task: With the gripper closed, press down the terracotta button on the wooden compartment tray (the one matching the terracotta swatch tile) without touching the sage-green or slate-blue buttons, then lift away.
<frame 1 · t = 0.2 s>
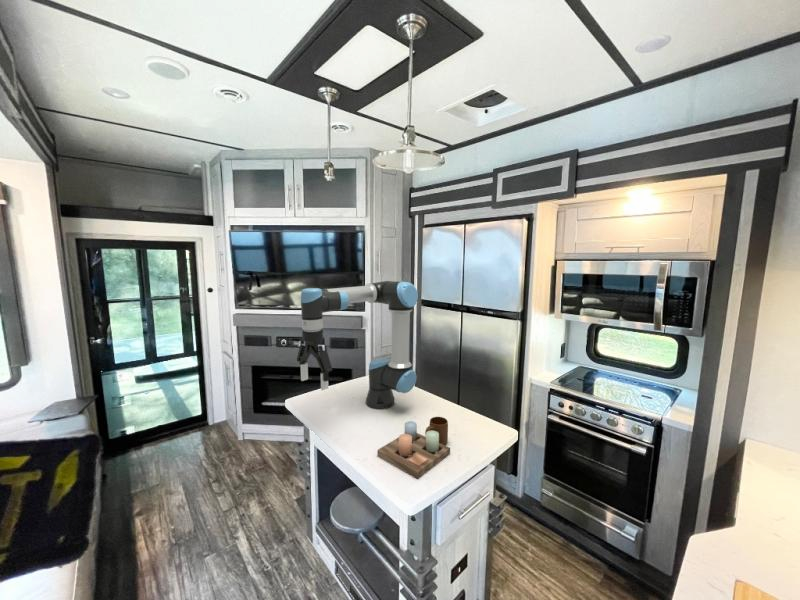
hand: (314, 384, 125), 28 cm above the countertop, fingers open, 13 cm apart
mug: (435, 444, 135), on the countertop
sage button: (432, 441, 127), point 5 cm above the countertop, slide at 0.0 cm
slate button: (410, 431, 134), point 6 cm above the countertop, slide at 0.0 cm
wooden compartment tray: (413, 454, 127), on the countertop
terracotta button: (405, 444, 124), point 6 cm above the countertop, slide at 0.0 cm
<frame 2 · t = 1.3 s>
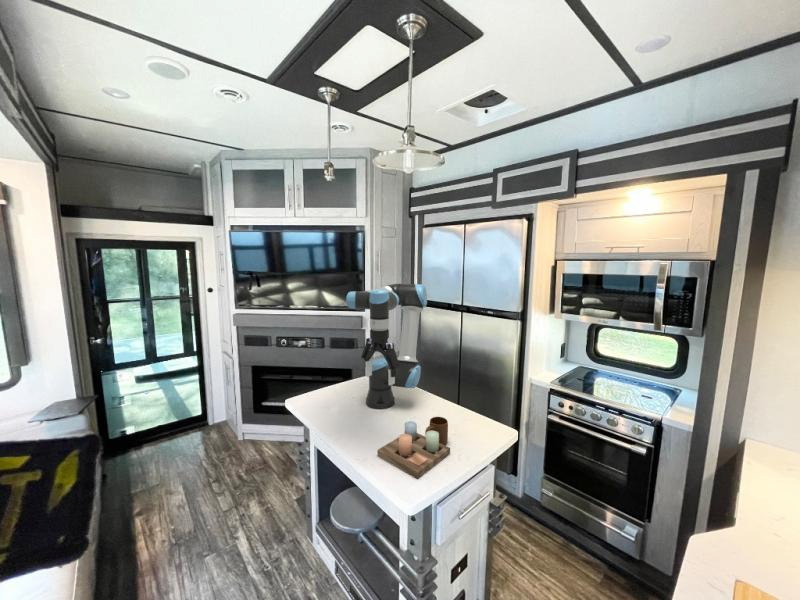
hand: (379, 380, 133), 27 cm above the countertop, fingers open, 13 cm apart
nothing on the countertop moved.
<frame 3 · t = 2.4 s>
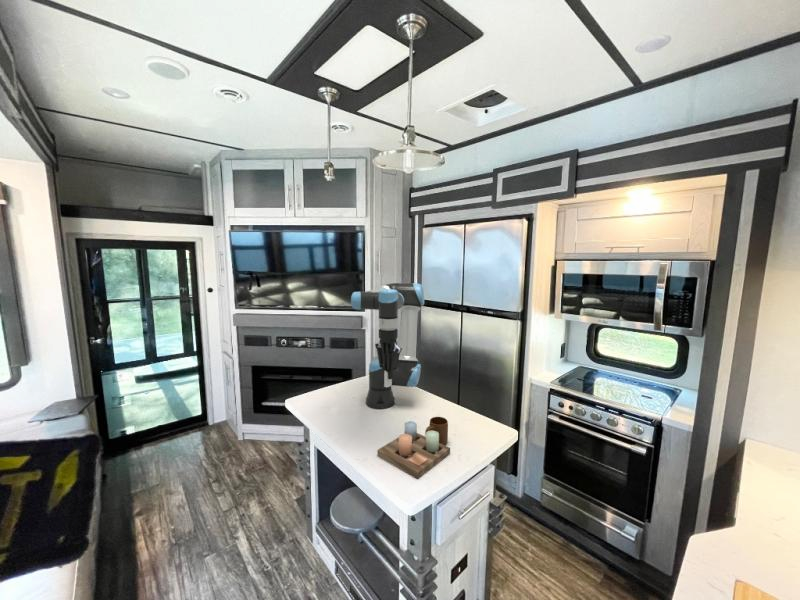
hand: (388, 386, 132), 25 cm above the countertop, fingers closed
nothing on the countertop moved.
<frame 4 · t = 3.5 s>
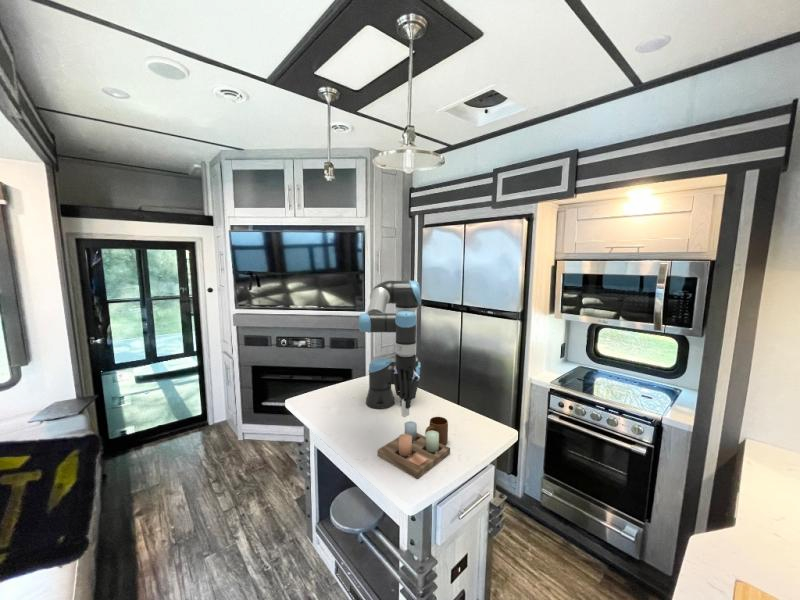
hand: (405, 415, 123), 17 cm above the countertop, fingers closed
nothing on the countertop moved.
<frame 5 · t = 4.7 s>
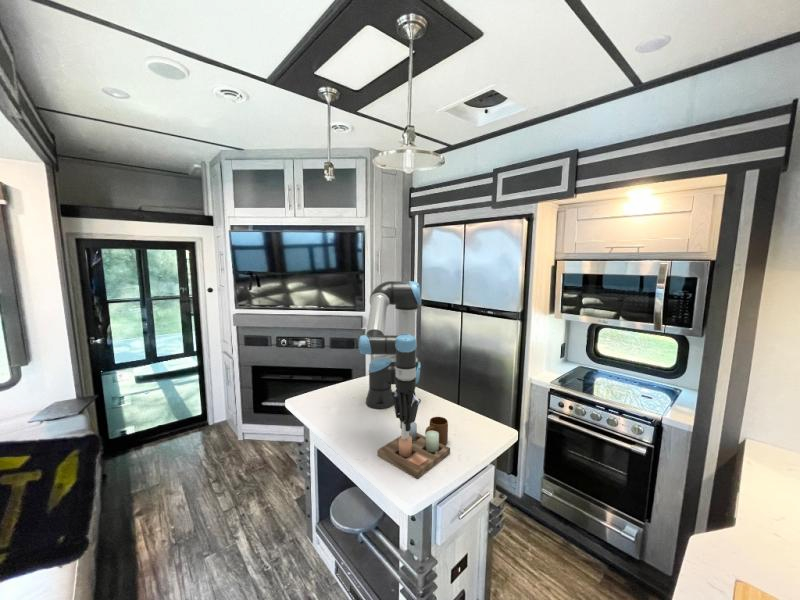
hand: (405, 437, 124), 8 cm above the countertop, fingers closed
terracotta button: (405, 445, 124), point 5 cm above the countertop, slide at 0.3 cm, touching gripper
everything else where it was.
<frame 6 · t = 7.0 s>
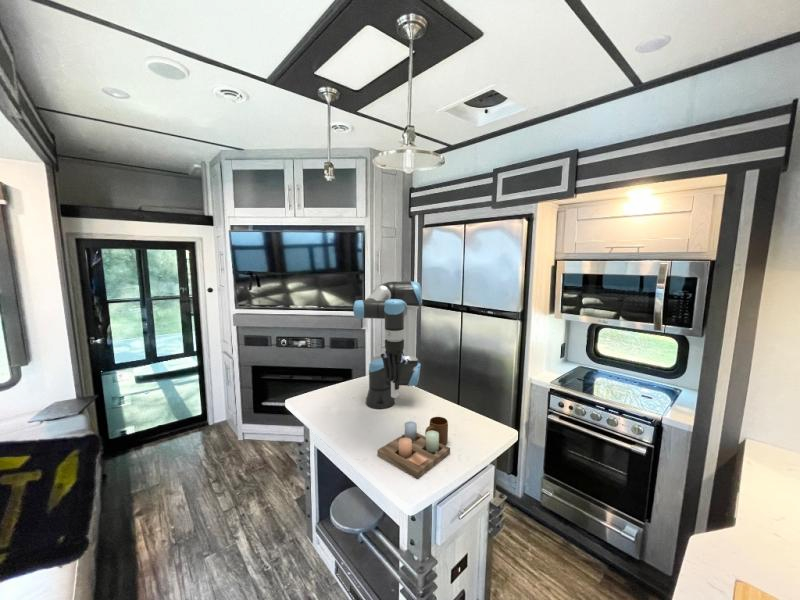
hand: (394, 396, 131), 21 cm above the countertop, fingers closed
terracotta button: (405, 448, 124), point 4 cm above the countertop, slide at 1.5 cm
everything else where it was.
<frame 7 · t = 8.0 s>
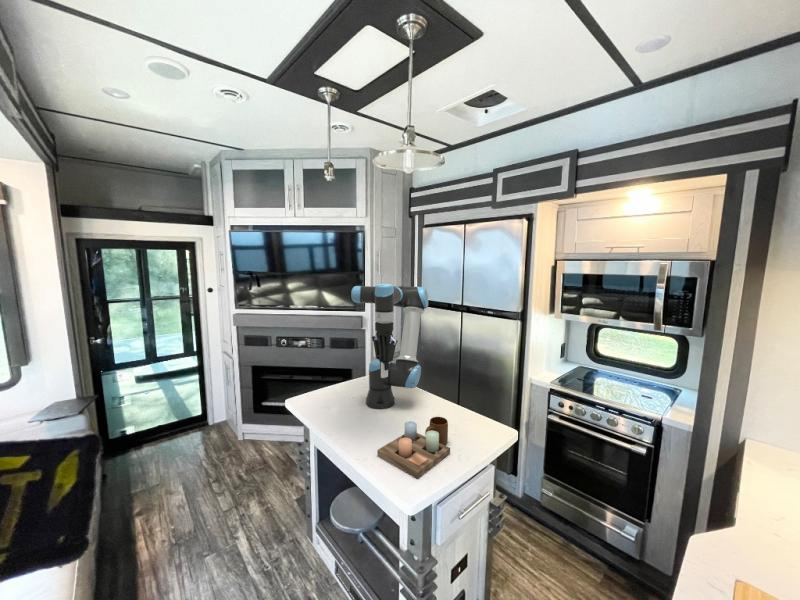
hand: (384, 376, 137), 26 cm above the countertop, fingers closed
nothing on the countertop moved.
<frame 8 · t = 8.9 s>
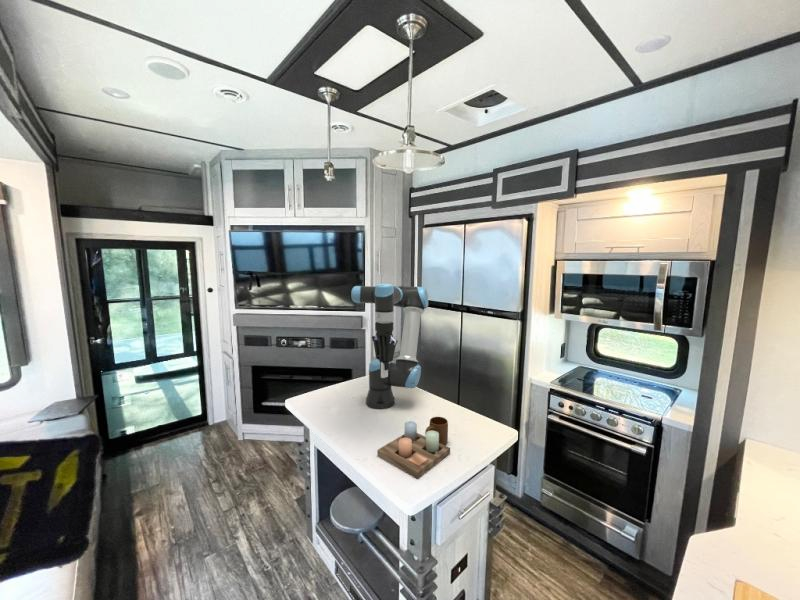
hand: (384, 376, 137), 26 cm above the countertop, fingers closed
nothing on the countertop moved.
at the end: terracotta button slide at 1.5 cm; sage button slide at 0.0 cm; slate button slide at 0.0 cm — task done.
